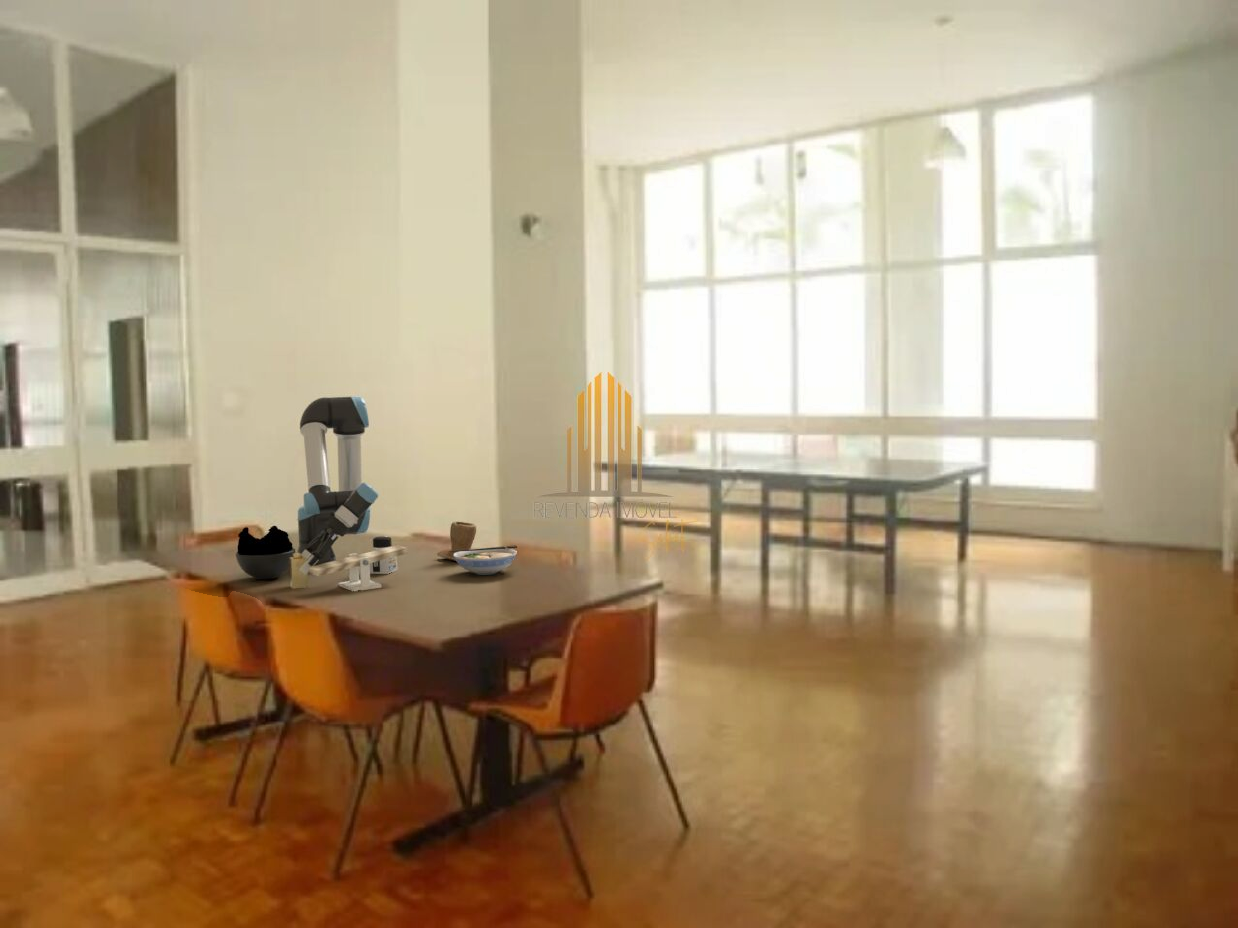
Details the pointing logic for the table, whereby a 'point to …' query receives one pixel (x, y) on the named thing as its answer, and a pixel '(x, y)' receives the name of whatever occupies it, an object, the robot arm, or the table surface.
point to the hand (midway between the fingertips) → (298, 569)
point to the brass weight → (297, 571)
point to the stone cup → (459, 538)
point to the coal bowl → (264, 553)
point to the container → (386, 564)
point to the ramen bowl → (485, 559)
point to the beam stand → (364, 581)
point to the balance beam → (357, 560)
